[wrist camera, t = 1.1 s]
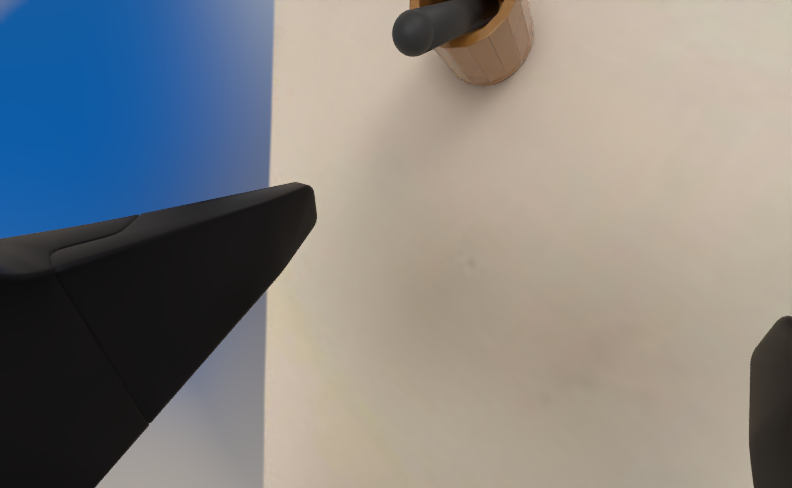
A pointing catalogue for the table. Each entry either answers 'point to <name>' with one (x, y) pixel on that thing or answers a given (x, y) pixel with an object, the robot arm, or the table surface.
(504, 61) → the brown wooden cup
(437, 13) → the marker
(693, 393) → the table surface
